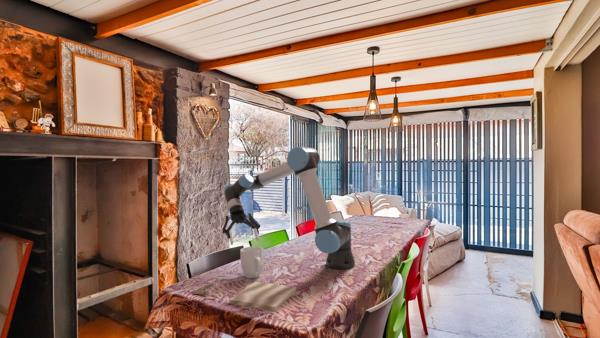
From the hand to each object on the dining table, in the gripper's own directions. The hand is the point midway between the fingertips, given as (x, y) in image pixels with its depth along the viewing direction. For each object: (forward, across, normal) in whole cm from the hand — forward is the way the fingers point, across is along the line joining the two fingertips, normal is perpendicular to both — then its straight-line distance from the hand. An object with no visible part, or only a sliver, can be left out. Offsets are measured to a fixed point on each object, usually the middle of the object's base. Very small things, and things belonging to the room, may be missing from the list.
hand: (245, 241), depth 164 cm
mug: (+18, 0, -3) cm, 18 cm away
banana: (+22, +20, 0) cm, 29 cm away
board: (+35, +4, +14) cm, 38 cm away
